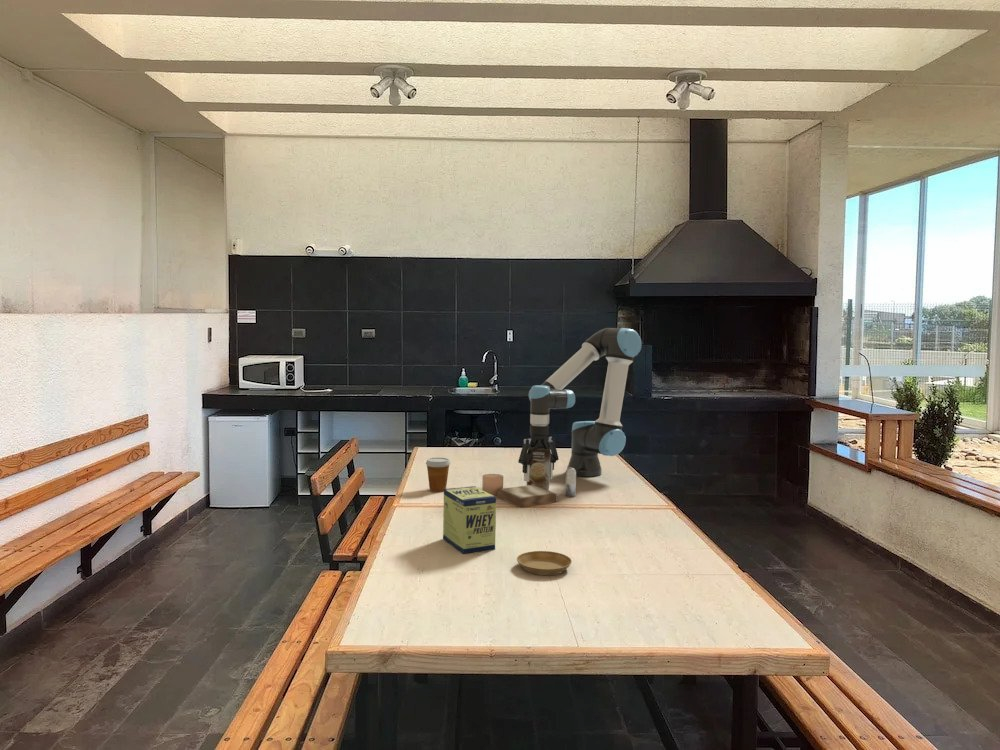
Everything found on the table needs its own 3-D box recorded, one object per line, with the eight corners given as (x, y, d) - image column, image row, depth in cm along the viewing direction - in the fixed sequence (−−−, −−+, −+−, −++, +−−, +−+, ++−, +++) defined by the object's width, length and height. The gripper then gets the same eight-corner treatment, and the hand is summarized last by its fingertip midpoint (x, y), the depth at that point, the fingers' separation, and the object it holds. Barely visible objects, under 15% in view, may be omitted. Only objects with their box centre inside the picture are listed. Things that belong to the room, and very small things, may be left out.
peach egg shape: (496, 490, 273) (496, 473, 272) (507, 495, 266) (507, 477, 265) (478, 492, 268) (478, 475, 268) (488, 497, 262) (489, 479, 261)
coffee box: (526, 489, 275) (526, 449, 274) (527, 485, 282) (527, 446, 280) (549, 490, 274) (550, 450, 273) (549, 486, 281) (550, 447, 279)
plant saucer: (516, 558, 195) (516, 549, 195) (569, 560, 194) (569, 551, 194) (516, 578, 180) (516, 568, 180) (573, 579, 180) (573, 569, 180)
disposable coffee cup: (421, 491, 269) (421, 460, 268) (432, 486, 278) (432, 456, 277) (443, 494, 265) (443, 462, 265) (454, 488, 274) (454, 458, 273)
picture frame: (532, 492, 271) (532, 484, 270) (556, 501, 257) (556, 493, 257) (497, 497, 262) (497, 488, 262) (520, 507, 249) (520, 498, 248)
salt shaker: (571, 494, 269) (572, 466, 268) (577, 496, 266) (578, 467, 265) (562, 495, 267) (563, 466, 266) (569, 497, 264) (569, 468, 263)
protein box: (463, 554, 197) (464, 500, 196) (442, 539, 211) (442, 488, 210) (496, 549, 202) (497, 496, 201) (473, 534, 215) (474, 485, 214)
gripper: (557, 421, 285) (556, 475, 287) (509, 425, 273) (508, 480, 275) (568, 424, 279) (567, 478, 280) (520, 427, 267) (519, 484, 269)
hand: (538, 479), depth 278 cm, fingers closed on coffee box, 10 cm apart
